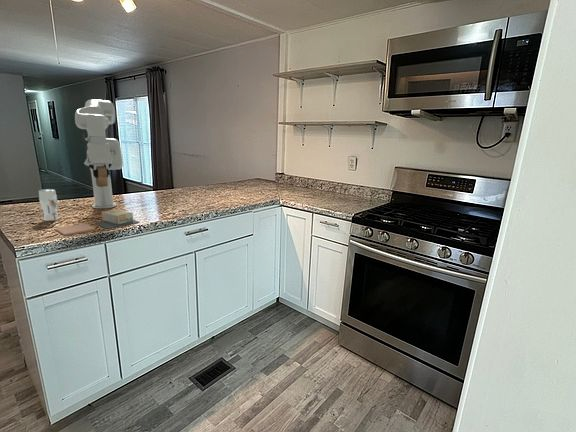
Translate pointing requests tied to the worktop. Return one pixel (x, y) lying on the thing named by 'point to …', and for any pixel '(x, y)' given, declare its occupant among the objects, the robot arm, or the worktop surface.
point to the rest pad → (75, 229)
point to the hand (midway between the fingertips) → (101, 176)
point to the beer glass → (49, 204)
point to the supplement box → (117, 216)
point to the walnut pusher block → (101, 176)
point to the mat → (113, 224)
